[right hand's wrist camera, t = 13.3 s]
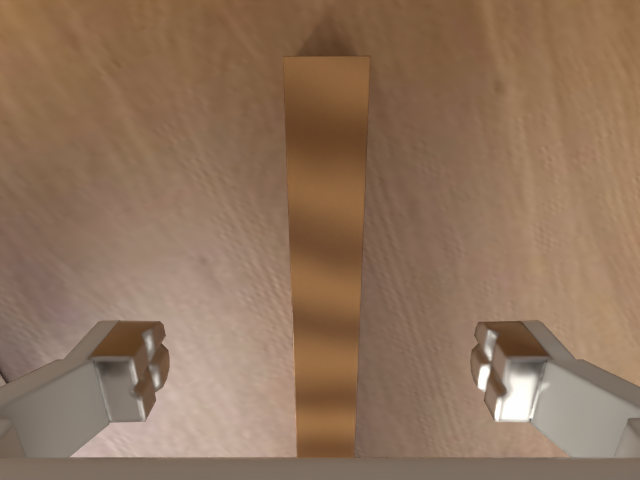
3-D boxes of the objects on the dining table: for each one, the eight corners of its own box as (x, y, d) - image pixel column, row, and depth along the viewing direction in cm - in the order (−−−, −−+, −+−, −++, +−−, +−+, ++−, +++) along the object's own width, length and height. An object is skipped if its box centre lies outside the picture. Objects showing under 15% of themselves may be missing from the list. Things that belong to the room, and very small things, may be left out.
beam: (292, 60, 26) (282, 56, 21) (362, 59, 26) (370, 55, 21) (308, 643, 53) (305, 707, 48) (342, 644, 53) (344, 708, 48)
